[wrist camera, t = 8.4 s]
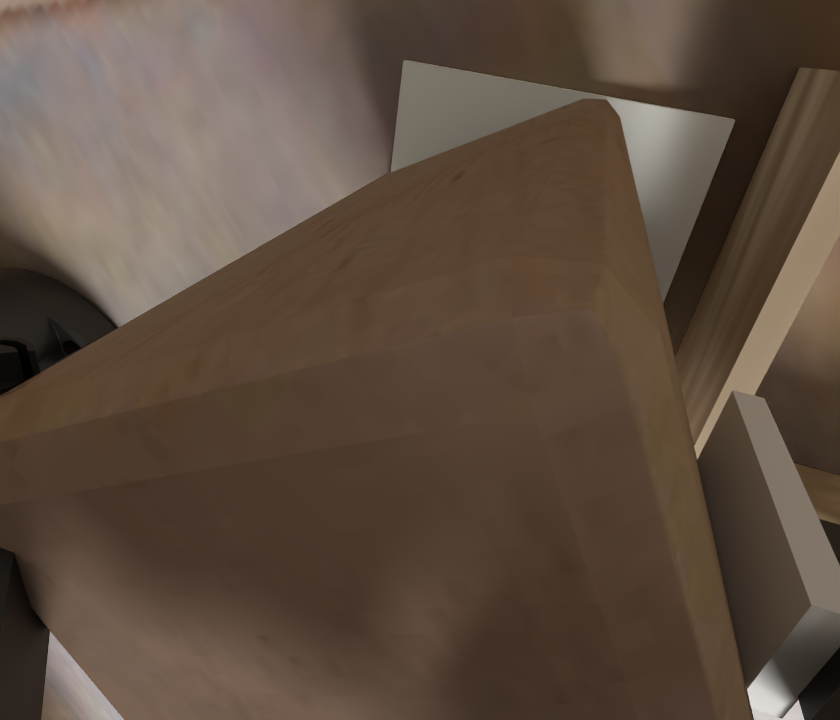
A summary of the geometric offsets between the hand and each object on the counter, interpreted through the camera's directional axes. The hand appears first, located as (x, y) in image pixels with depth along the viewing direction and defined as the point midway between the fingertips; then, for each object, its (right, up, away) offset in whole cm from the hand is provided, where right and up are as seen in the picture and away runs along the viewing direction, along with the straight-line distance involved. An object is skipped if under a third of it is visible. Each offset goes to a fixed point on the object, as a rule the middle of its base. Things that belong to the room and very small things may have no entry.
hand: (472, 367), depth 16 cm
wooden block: (+3, +5, +9) cm, 10 cm away
